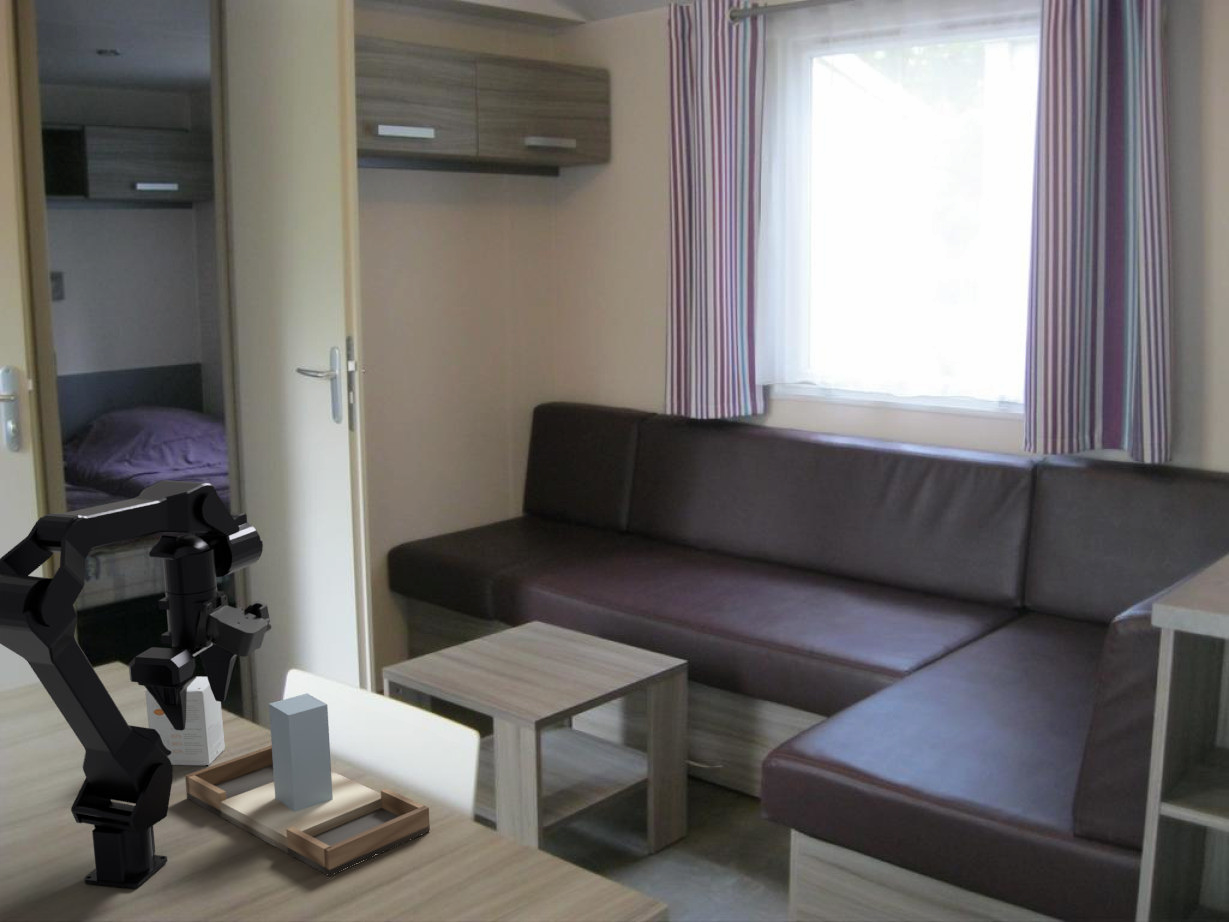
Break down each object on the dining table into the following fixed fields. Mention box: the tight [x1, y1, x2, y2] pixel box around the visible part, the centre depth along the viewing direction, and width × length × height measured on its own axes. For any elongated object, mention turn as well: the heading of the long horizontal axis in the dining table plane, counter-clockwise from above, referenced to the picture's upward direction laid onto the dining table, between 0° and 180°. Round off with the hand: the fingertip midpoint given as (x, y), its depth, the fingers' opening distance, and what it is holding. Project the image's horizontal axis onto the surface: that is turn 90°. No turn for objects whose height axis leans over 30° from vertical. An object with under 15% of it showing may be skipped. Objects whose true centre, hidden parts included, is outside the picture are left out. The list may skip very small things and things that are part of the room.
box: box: [184, 744, 431, 877], centre depth 157 cm, size 30×14×3 cm, turn 48°
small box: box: [144, 676, 226, 766], centre depth 173 cm, size 8×6×10 cm
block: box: [268, 693, 333, 812], centre depth 155 cm, size 5×5×12 cm
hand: (200, 715), depth 154 cm, fingers open, 9 cm apart
